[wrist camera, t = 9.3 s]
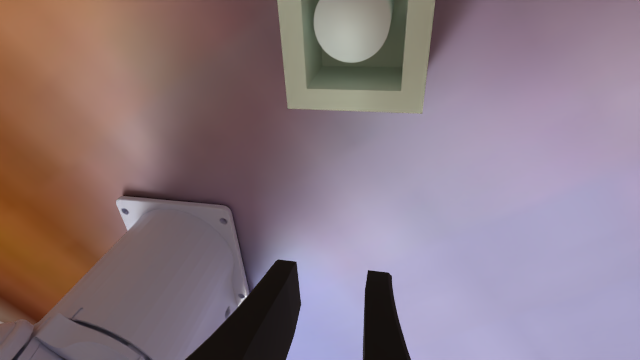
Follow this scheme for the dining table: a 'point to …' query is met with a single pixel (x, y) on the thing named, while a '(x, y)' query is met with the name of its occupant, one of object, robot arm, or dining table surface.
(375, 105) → the tray
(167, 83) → the dining table surface
